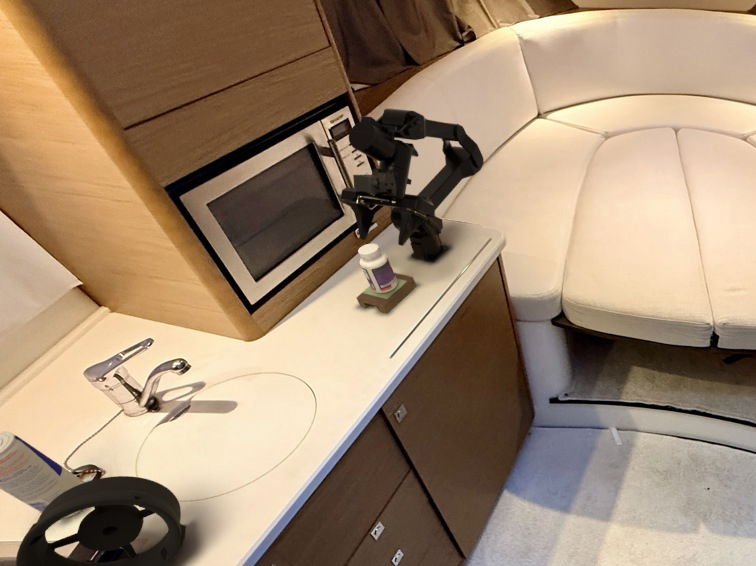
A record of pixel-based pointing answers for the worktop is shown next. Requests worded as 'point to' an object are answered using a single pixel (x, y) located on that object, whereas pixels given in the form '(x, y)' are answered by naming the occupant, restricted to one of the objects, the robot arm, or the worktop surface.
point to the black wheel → (107, 523)
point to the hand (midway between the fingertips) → (381, 242)
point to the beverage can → (31, 473)
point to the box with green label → (387, 294)
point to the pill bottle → (377, 268)
